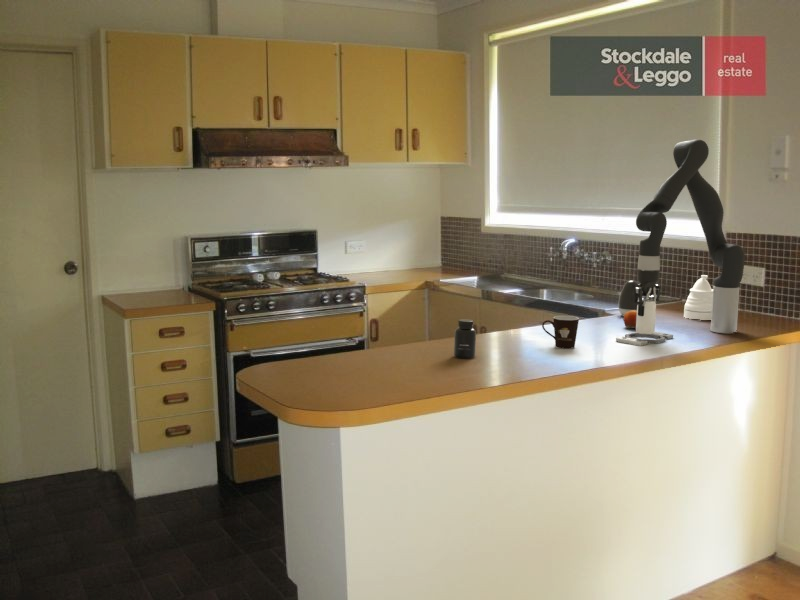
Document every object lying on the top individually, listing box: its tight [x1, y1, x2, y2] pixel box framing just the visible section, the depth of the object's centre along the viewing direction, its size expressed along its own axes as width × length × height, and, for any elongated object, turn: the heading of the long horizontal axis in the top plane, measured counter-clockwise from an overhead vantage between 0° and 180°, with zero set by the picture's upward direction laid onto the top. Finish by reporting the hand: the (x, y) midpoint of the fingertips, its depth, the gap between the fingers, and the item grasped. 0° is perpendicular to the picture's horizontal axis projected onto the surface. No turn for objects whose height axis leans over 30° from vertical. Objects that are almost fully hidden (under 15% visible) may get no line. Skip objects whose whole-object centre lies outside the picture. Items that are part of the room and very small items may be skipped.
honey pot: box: [683, 274, 713, 321], centre depth 348 cm, size 13×13×18 cm
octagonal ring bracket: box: [615, 331, 674, 347], centre depth 302 cm, size 22×13×1 cm, turn 133°
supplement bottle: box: [453, 318, 477, 360], centre depth 271 cm, size 7×7×12 cm
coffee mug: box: [541, 315, 580, 350], centre depth 289 cm, size 12×9×10 cm
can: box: [635, 299, 657, 335], centre depth 301 cm, size 6×6×12 cm
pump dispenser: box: [617, 279, 640, 317], centre depth 350 cm, size 10×10×15 cm
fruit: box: [623, 310, 637, 329], centre depth 324 cm, size 8×8×8 cm
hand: (646, 314), depth 301 cm, fingers closed on can, 6 cm apart
